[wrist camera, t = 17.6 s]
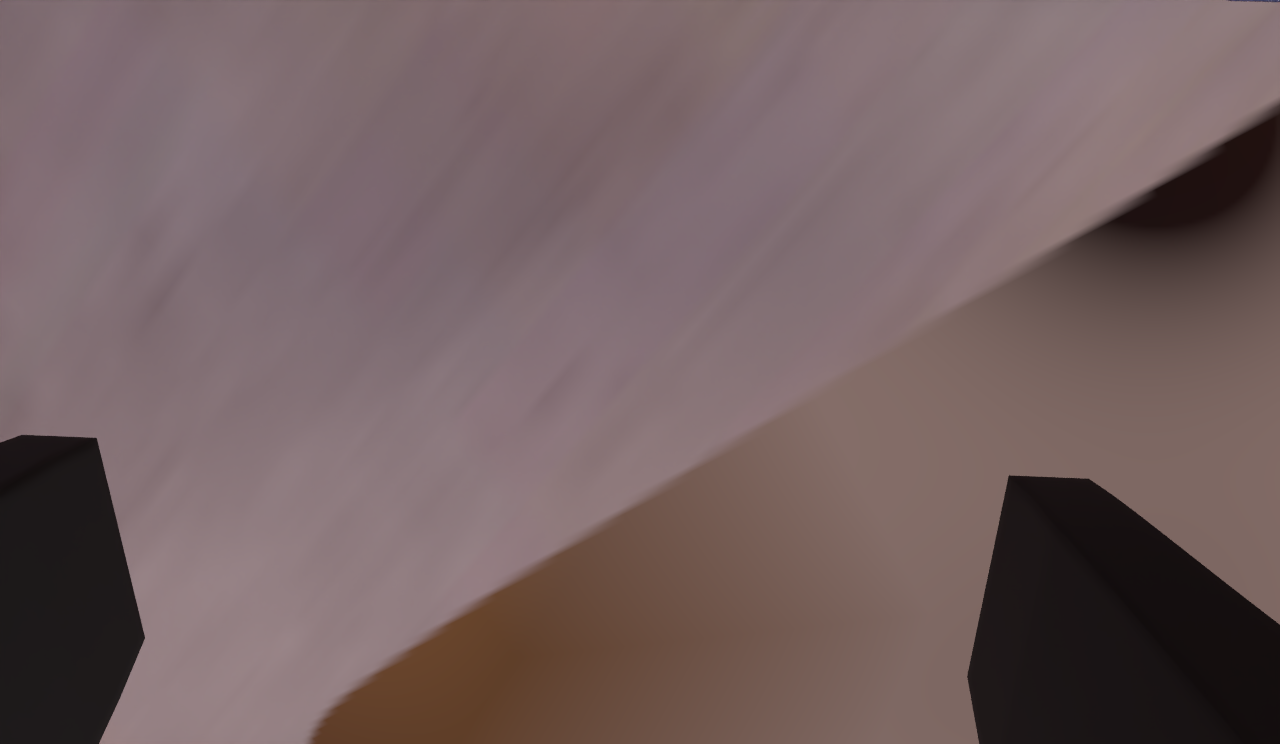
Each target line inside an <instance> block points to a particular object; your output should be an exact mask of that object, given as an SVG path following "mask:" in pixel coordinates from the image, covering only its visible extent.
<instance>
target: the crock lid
mask: <svg viewBox="0 0 1280 744" xmlns="http://www.w3.org/2000/svg"><path fill="white" fill-rule="evenodd" d="M1228 1H1250V2H1280V0H1228Z"/></svg>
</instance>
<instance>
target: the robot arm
mask: <svg viewBox="0 0 1280 744" xmlns="http://www.w3.org/2000/svg"><path fill="white" fill-rule="evenodd" d="M144 639H145V636H144V632H143V628H142V624H141V619H140V615H139V611H138V607H137V603H136V599H135V595H134V591H133V586H132V582H131V578H130V574H129V570H128V566H127V562H126V557H125V553H124V549H123V545H122V541H121V537H120V533H119V529H118V524H117V520H116V516H115V512H114V508H113V504H112V500H111V495H110V491H109V487H108V483H107V479H106V475H105V471H104V467H103V462H102V458H101V454H100V450H99V446H98V442H97V438H84V437H59V436H35V435H20V436H18V437H15V438H12V439H9V440H7V441H4V442H1V443H0V744H99V742H100V740H101V738H102V735H103V733H104V731H105V729H106V727H107V725H108V723H109V720H110V718H111V716H112V714H113V712H114V710H115V707H116V705H117V703H118V701H119V699H120V696H121V694H122V692H123V689H124V687H125V684H126V682H127V680H128V677H129V675H130V672H131V670H132V668H133V665H134V663H135V661H136V658H137V656H138V653H139V651H140V649H141V646H142V644H143V641H144ZM967 677H968V683H969V688H970V694H971V700H972V705H973V711H974V717H975V722H976V727H977V733H978V739H979V744H1280V625H1279V624H1278V623H1277V622H1276V621H1274V620H1273V619H1271V618H1270V617H1269V616H1268V615H1266V614H1265V613H1264V612H1262V611H1261V610H1260V609H1258V608H1257V607H1256V606H1255V605H1253V604H1252V603H1251V602H1249V601H1248V600H1247V599H1246V598H1244V597H1243V596H1242V595H1240V594H1239V593H1238V592H1237V591H1235V590H1234V589H1232V588H1231V587H1230V586H1229V585H1228V584H1226V583H1225V582H1224V581H1222V580H1221V579H1220V578H1219V577H1217V576H1216V575H1215V574H1213V573H1212V572H1211V571H1210V570H1209V569H1207V568H1206V567H1205V566H1203V565H1202V564H1201V563H1200V562H1198V561H1197V560H1196V559H1194V558H1193V557H1192V556H1190V555H1189V554H1188V553H1187V552H1186V551H1184V550H1183V549H1182V548H1181V547H1179V546H1178V545H1177V544H1175V543H1174V542H1173V541H1172V540H1170V539H1169V538H1168V537H1167V536H1165V535H1164V534H1162V533H1161V532H1160V531H1159V530H1158V529H1156V528H1155V527H1154V526H1152V525H1151V524H1150V523H1149V522H1147V521H1146V520H1145V519H1143V518H1142V517H1141V516H1140V515H1138V514H1137V513H1136V512H1134V511H1133V510H1132V509H1130V508H1129V507H1128V506H1126V505H1125V504H1124V503H1122V502H1121V501H1120V500H1118V499H1117V498H1116V497H1114V496H1113V495H1112V494H1110V493H1109V492H1107V491H1106V490H1104V489H1103V488H1101V487H1100V486H1098V485H1097V484H1096V483H1094V482H1093V481H1091V480H1090V479H1080V478H1078V479H1077V478H1055V477H1030V476H1009V477H1008V482H1007V487H1006V492H1005V497H1004V502H1003V507H1002V511H1001V516H1000V521H999V526H998V531H997V535H996V540H995V545H994V550H993V555H992V560H991V565H990V569H989V574H988V579H987V584H986V589H985V594H984V598H983V604H982V608H981V613H980V618H979V622H978V627H977V632H976V637H975V642H974V647H973V651H972V656H971V661H970V666H969V671H968V676H967Z"/></svg>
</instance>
